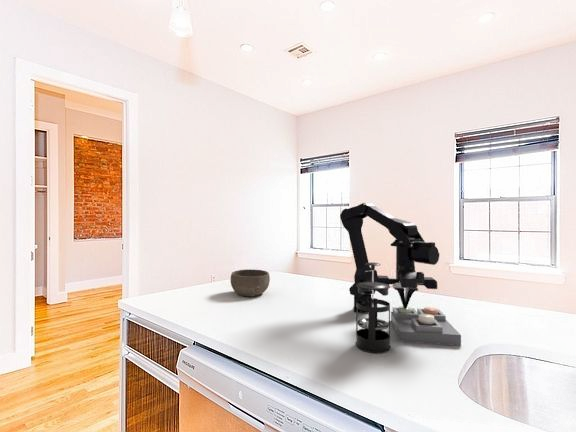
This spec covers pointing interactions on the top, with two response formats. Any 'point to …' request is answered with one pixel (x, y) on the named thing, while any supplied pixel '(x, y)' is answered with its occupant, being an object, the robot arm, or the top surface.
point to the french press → (372, 318)
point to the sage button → (404, 309)
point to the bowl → (250, 282)
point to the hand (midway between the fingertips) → (404, 308)
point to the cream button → (426, 318)
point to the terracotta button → (430, 311)
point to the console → (424, 328)
